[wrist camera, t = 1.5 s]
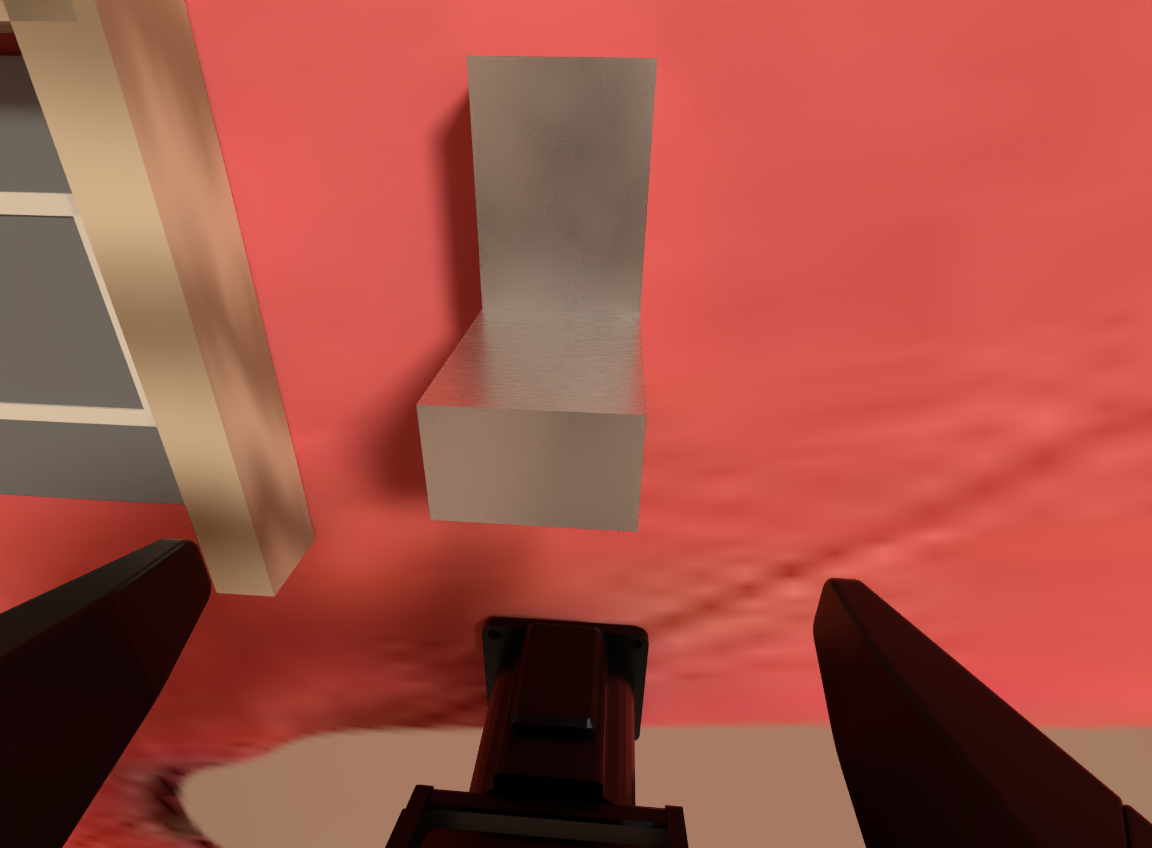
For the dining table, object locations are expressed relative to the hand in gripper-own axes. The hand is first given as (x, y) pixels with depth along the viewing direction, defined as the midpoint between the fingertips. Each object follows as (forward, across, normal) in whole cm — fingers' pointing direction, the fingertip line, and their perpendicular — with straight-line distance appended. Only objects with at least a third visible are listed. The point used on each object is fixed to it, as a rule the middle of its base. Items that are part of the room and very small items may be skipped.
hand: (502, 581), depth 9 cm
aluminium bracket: (+11, 0, -3) cm, 11 cm away
